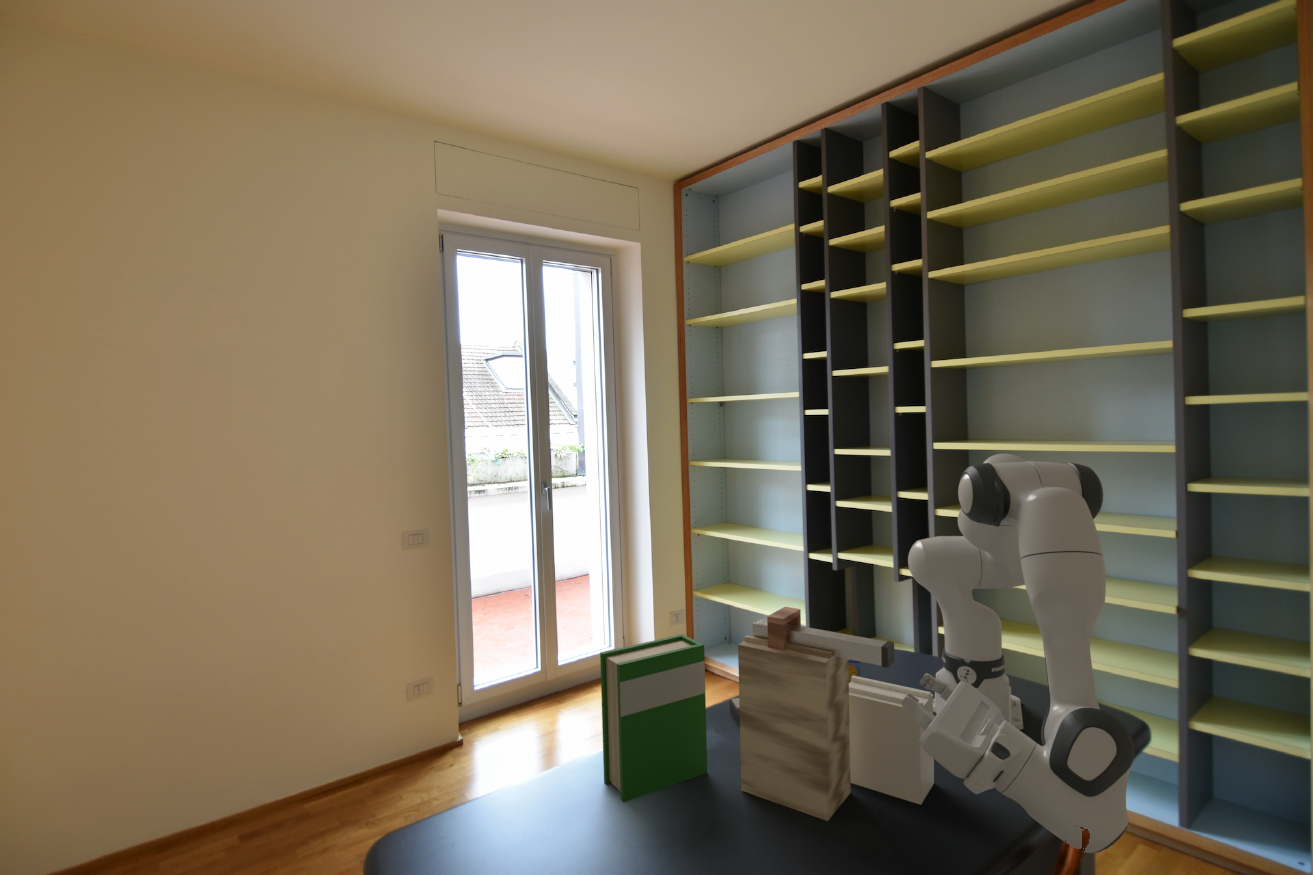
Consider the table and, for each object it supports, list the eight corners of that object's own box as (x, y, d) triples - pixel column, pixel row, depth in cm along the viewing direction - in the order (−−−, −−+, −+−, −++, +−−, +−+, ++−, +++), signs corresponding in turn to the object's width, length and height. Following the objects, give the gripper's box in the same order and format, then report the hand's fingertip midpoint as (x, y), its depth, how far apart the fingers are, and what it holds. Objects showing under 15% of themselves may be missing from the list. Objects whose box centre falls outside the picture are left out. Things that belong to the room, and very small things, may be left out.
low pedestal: (856, 760, 129) (855, 673, 128) (934, 783, 121) (932, 689, 120) (840, 779, 123) (838, 687, 122) (921, 804, 114) (919, 706, 114)
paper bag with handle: (767, 765, 128) (764, 600, 127) (850, 792, 118) (847, 613, 117) (741, 790, 120) (737, 614, 119) (827, 820, 110) (824, 629, 109)
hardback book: (623, 802, 117) (619, 664, 116) (604, 783, 124) (600, 652, 123) (707, 772, 126) (704, 644, 125) (685, 755, 133) (682, 634, 132)
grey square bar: (761, 635, 124) (760, 618, 124) (894, 661, 109) (894, 641, 109) (752, 640, 121) (752, 622, 121) (887, 667, 107) (887, 647, 107)
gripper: (1022, 710, 107) (941, 651, 113) (996, 767, 90) (904, 695, 97) (1000, 738, 109) (922, 680, 116) (971, 799, 92) (882, 727, 99)
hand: (913, 687), depth 106 cm, fingers open, 8 cm apart
